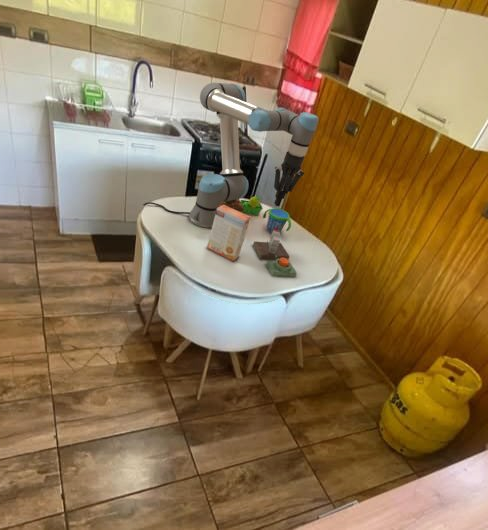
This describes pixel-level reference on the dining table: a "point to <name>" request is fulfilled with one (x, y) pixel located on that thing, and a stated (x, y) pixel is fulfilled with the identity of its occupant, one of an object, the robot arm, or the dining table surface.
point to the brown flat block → (263, 251)
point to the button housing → (280, 269)
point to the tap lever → (274, 241)
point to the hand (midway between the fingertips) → (276, 204)
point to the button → (283, 262)
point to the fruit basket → (251, 206)
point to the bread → (233, 204)
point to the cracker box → (228, 232)
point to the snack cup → (277, 219)
